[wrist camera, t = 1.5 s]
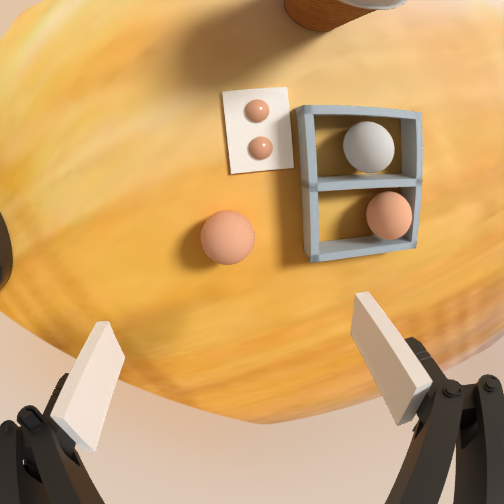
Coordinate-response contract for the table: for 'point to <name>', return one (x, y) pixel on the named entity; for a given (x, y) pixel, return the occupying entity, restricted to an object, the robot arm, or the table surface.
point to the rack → (358, 182)
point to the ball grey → (368, 147)
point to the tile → (258, 129)
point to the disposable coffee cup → (333, 11)
